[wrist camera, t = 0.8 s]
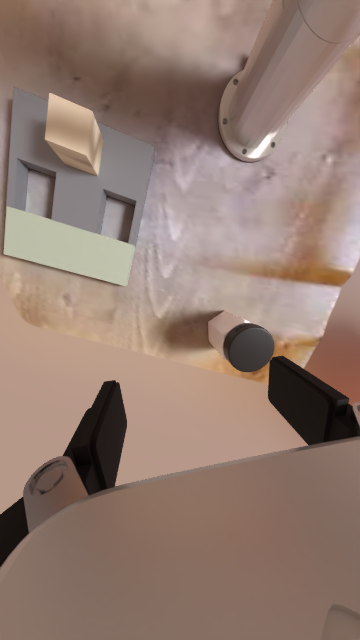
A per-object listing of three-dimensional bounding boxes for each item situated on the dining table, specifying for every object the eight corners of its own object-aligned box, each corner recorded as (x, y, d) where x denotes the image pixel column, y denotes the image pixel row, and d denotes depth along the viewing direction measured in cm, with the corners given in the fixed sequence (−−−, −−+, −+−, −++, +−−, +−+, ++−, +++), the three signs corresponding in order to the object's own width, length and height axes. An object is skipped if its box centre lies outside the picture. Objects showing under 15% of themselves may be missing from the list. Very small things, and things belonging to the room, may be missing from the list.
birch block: (69, 126, 26) (49, 92, 21) (103, 140, 27) (92, 111, 22) (64, 163, 27) (44, 139, 22) (98, 176, 28) (85, 155, 23)
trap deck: (26, 103, 27) (13, 86, 24) (154, 156, 30) (154, 146, 28) (14, 255, 31) (2, 253, 29) (127, 285, 35) (125, 286, 33)
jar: (249, 321, 40) (286, 339, 29) (232, 351, 42) (260, 379, 30) (216, 305, 38) (242, 317, 27) (199, 337, 40) (217, 361, 28)
